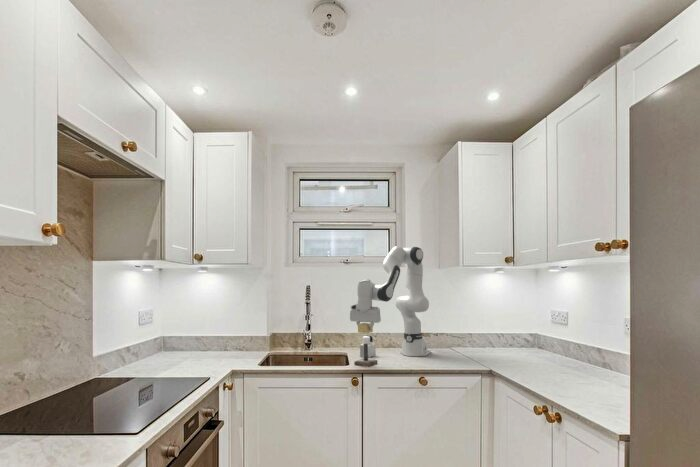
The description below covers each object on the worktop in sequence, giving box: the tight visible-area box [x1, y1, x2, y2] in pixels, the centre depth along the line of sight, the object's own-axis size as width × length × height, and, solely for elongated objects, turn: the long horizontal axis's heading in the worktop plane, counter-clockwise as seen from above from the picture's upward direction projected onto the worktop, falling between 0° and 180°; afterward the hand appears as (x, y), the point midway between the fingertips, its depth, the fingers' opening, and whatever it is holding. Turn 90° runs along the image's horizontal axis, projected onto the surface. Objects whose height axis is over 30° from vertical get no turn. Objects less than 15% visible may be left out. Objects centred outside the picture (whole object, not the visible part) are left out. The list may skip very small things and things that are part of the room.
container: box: [359, 335, 377, 358], centre depth 270 cm, size 8×8×13 cm
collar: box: [357, 322, 374, 334], centre depth 247 cm, size 6×6×5 cm
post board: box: [353, 343, 378, 367], centre depth 245 cm, size 10×10×12 cm
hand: (365, 329), depth 247 cm, fingers closed on collar, 6 cm apart
